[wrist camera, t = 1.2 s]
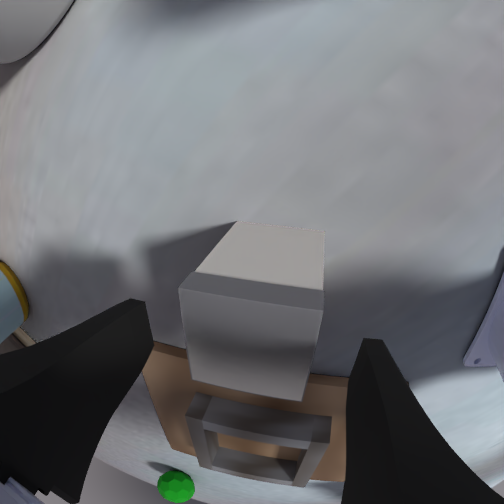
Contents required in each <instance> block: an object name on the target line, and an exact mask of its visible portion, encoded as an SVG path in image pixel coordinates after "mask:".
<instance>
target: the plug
mask: <svg viewBox="0 0 504 504" xmlns="http://www.w3.org/2000/svg"><path fill="white" fill-rule="evenodd" d="M324 250H325V231H319V230H311V229H303V228H295V227H286V226H278V225H269V224H260V223H251V222H241V221H237V222H236V223H235V224H234V225H233V226H232V227H231V229H230V230H229V231H228V232H227V233H226V235H225V236H224V237H223V238H222V239H221V240H220V242H219V243H218V244H217V245H216V246H215V247H214V249H213V250H212V251H211V252H210V253H209V255H208V256H207V257H206V258H205V259H204V261H203V262H202V263H201V264H200V265H199V267H198V268H197V269H196V270H195V271H194V272H193V271H191V273H190V274H189V275H188V276H187V277H186V279H185V280H184V281H183V282H182V283H181V285H180V286H179V287H178V292H179V301H180V309H181V316H182V324H183V331H184V338H185V344H186V351H187V357H188V363H189V369H190V375H191V380H194V381H198V382H202V383H206V384H210V385H214V386H218V387H222V388H227V389H231V390H236V391H240V392H245V393H250V394H255V395H261V396H266V397H272V398H278V399H284V400H290V401H297V402H302V401H303V397H304V394H305V390H306V386H307V382H308V378H309V374H310V370H311V366H312V362H313V357H314V353H315V349H316V344H317V340H318V335H319V330H320V326H321V321H322V316H323V311H324V292H325V291H323V275H324Z"/></svg>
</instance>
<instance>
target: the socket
mask: <svg viewBox="0 0 504 504" xmlns="http://www.w3.org/2000/svg"><path fill="white" fill-rule="evenodd" d="M153 342H154V347H153V349H152V352H151V354H150V356H149V358H148V360H147V362H146V364H145V366H144V368H143V370H142V373H143V376H144V379H145V382H146V385H147V387H148V390H149V393H150V396H151V399H152V401H153V404H154V407H155V409H156V412H157V415H158V417H159V420H160V422H161V425H162V427H163V429H164V432H165V434H166V437H167V439H168V441H169V444H170V446H171V448H172V449H174V450H177V451H180V452H183V453H186V454H189V455H192V456H196V457H197V459H198V462H199V465H200V467H204V468H207V469H211V470H214V471H218V472H222V473H226V474H230V475H234V476H239V477H243V478H248V479H253V480H258V481H263V482H269V483H275V484H282V485H289V486H297V487H305V486H306V484H307V483H308V481H309V479H311V480H323V481H338V482H344V481H345V473H346V399H347V387H348V380H349V378H346V377H336V376H327V375H318V374H311V373H310V374H309V378H308V382H307V386H306V390H305V394H304V397H303V401H302V402H297V401H290V400H284V399H278V398H272V397H266V396H261V395H255V394H250V393H245V392H240V391H236V390H231V389H227V388H222V387H218V386H214V385H210V384H206V383H202V382H198V381H194V380H191V375H190V369H189V363H188V357H187V351H186V350H185V349H181V348H177V347H173V346H170V345H166V344H162V343H159V342H155V341H153ZM407 384H408V386H409V383H408V382H407Z"/></svg>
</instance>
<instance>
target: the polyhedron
mask: <svg viewBox="0 0 504 504" xmlns="http://www.w3.org/2000/svg"><path fill="white" fill-rule="evenodd" d="M157 487H158V490H159V493H160V494H161V495H162V496H163V498H165V499H167V500H169V501H171V502H175V503H181V502H185V501H187V500H189V499H190V498H191V497H192V496H193V494H194V492H195V487H194V483H193V480H192V479H191V478H190V477H189V476H188V475H187V474H185V473H183V472H180V471H168V472H166V473H164V474H163V475H162V476H160V478H159V480H158V484H157Z"/></svg>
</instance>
